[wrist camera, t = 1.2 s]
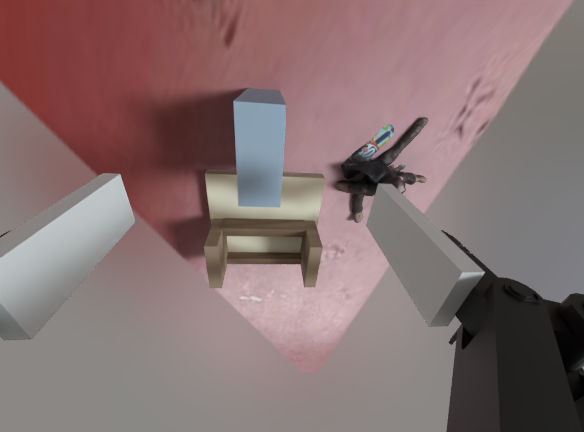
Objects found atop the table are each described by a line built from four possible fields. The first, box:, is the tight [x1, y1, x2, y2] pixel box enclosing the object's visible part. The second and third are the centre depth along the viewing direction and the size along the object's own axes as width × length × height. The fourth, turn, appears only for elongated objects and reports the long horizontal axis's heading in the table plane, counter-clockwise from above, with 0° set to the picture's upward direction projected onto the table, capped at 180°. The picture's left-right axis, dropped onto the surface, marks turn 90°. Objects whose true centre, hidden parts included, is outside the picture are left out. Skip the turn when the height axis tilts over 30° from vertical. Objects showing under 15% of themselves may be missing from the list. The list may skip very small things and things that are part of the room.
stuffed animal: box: [336, 117, 428, 223], centre depth 32 cm, size 12×10×12 cm
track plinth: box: [204, 169, 325, 288], centre depth 31 cm, size 14×15×8 cm
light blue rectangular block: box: [233, 88, 286, 208], centre depth 23 cm, size 8×4×12 cm, turn 175°
